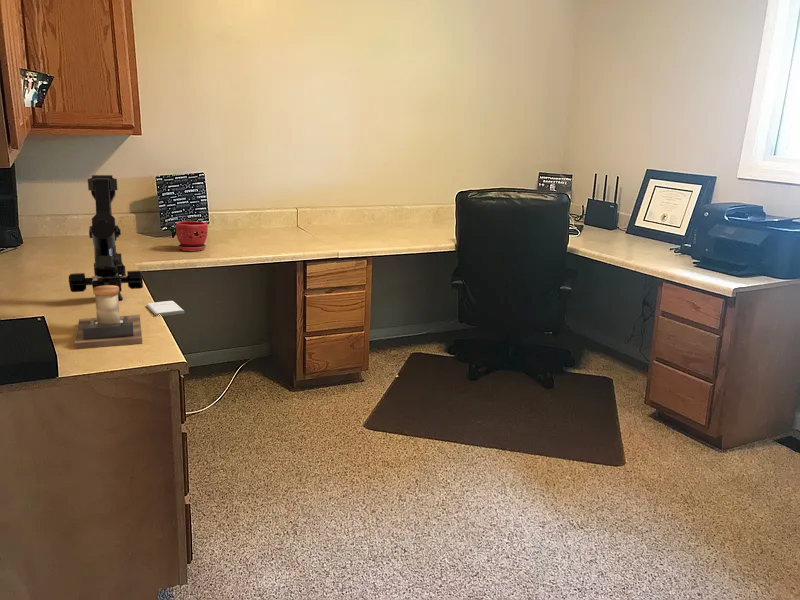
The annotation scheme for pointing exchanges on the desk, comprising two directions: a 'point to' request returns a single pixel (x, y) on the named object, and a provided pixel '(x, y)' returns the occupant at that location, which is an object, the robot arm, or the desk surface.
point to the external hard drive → (165, 308)
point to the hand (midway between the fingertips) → (108, 307)
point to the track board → (109, 341)
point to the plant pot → (191, 235)
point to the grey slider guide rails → (108, 330)
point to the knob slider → (107, 304)
